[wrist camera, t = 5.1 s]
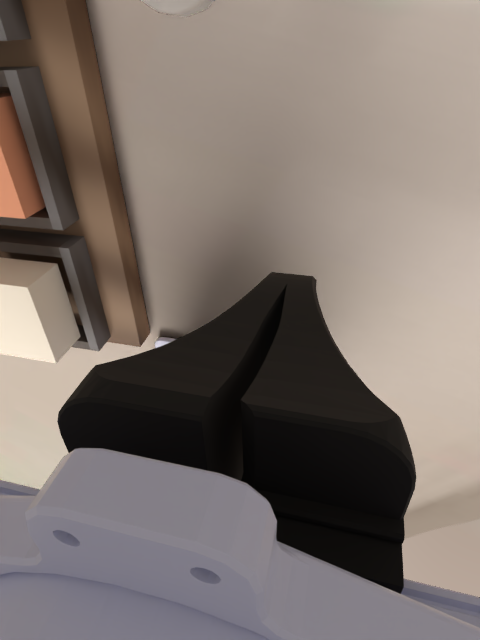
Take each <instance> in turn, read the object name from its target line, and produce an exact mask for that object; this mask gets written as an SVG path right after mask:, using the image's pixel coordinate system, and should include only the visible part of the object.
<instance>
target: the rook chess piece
mask: <svg viewBox="0 0 480 640" xmlns="http://www.w3.org/2000/svg"><path fill="white" fill-rule="evenodd" d="M140 1H142V2H143V3H145V4H146V5H148V6H149V7H151V8H152V9H154V10H155V11H157V12H158V13H165V14H167V15H174V16H182V17H189V16H192V15H194V14H197V13H199V12H202V11H204V10H206V9H208V8H209V6H210V5H211V4H212V3H213V2H214V1H215V0H140Z"/></svg>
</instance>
